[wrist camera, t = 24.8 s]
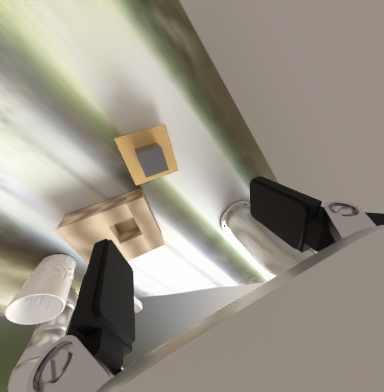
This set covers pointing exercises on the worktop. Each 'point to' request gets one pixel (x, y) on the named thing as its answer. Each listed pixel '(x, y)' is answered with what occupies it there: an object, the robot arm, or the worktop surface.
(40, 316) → the white cup
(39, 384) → the robot arm
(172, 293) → the worktop surface
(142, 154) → the plug
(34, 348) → the plastic bottle
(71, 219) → the socket block
